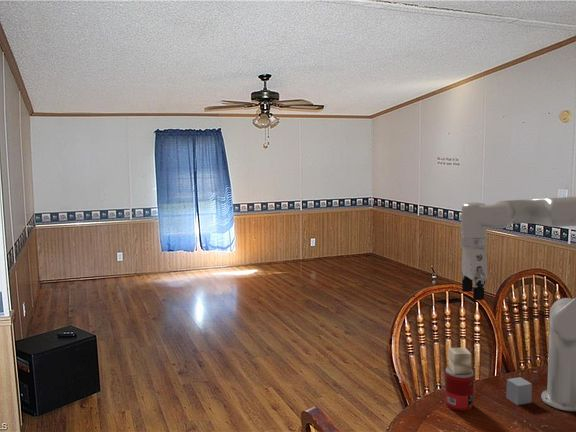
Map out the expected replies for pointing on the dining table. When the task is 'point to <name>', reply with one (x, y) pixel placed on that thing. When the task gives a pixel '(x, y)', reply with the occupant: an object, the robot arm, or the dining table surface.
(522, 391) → the slate block
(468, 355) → the birch block
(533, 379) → the dining table surface
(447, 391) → the canned food
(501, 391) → the dining table surface
